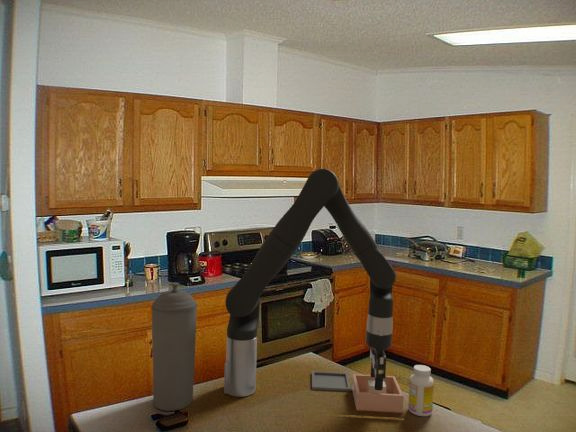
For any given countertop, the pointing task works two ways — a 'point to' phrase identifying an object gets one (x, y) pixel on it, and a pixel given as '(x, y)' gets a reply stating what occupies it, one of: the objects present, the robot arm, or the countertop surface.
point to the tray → (330, 381)
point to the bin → (377, 395)
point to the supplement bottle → (421, 391)
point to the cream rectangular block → (372, 390)
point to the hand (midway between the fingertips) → (376, 383)
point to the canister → (173, 349)
